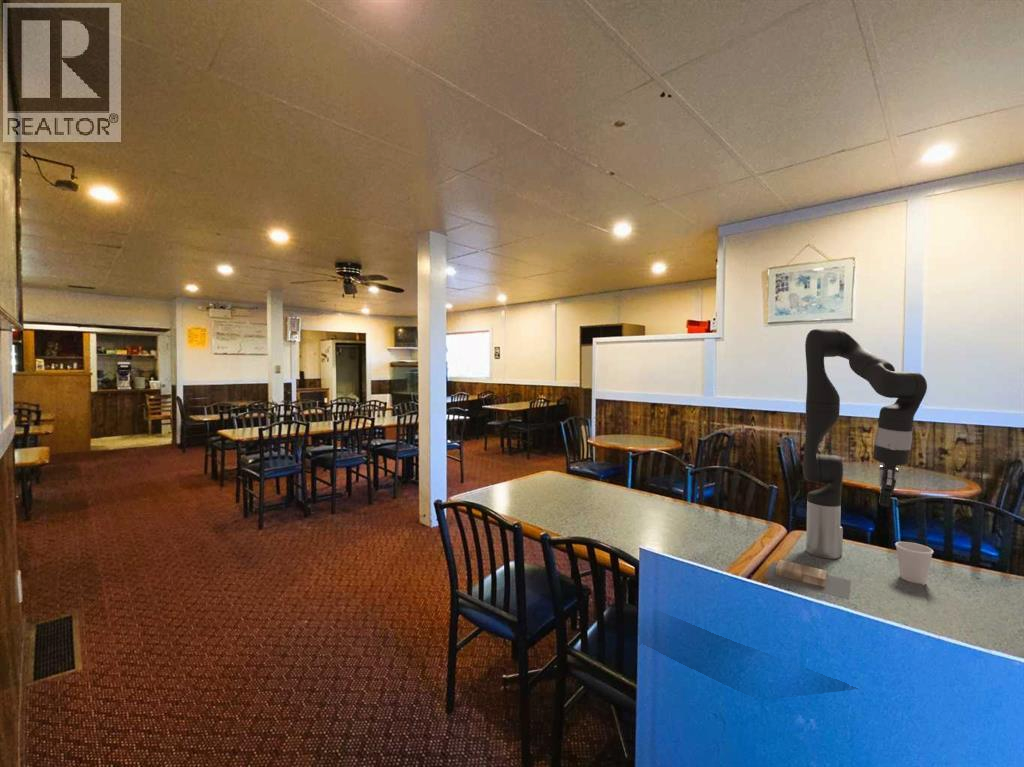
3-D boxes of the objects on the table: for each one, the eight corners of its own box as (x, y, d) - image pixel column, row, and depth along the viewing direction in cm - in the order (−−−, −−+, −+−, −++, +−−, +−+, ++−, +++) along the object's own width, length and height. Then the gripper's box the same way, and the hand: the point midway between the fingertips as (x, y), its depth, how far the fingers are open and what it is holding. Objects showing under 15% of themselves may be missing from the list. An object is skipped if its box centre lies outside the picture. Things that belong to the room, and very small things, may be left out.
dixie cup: (940, 588, 125) (941, 553, 125) (906, 585, 127) (907, 551, 126) (919, 575, 133) (920, 542, 133) (887, 572, 135) (888, 540, 134)
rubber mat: (850, 582, 129) (850, 580, 129) (848, 601, 118) (848, 599, 118) (772, 563, 141) (772, 561, 141) (763, 578, 130) (763, 577, 130)
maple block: (827, 570, 129) (779, 559, 137) (825, 579, 124) (775, 567, 131) (826, 579, 129) (779, 567, 137) (824, 588, 124) (775, 575, 132)
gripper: (873, 437, 127) (866, 495, 130) (875, 447, 117) (867, 509, 119) (908, 442, 123) (900, 501, 125) (913, 453, 112) (903, 517, 115)
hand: (884, 505), depth 122 cm, fingers closed
